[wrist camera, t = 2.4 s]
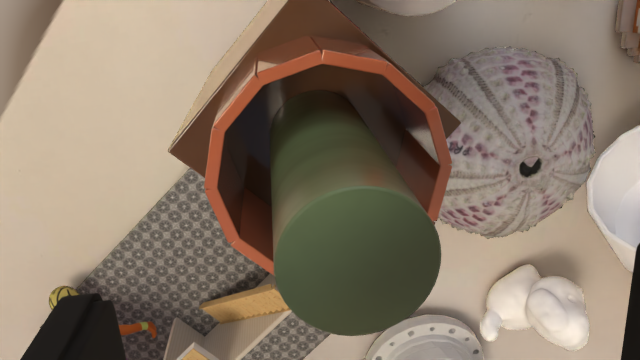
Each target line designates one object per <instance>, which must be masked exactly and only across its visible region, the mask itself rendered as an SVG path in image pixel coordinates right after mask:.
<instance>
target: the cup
mask: <svg viewBox="0 0 640 360" xmlns="http://www.w3.org/2000/svg"><path fill="white" fill-rule="evenodd" d="M586 189H587V211H588V213H589V214H590V216H591V217H592V219H593V220H594V222H595V223H596V225H597V226H598V228H599V229H600V231H601V233H602V234H603V236H604V237H605V239H606V240H607V242H608V243H609V245H610V246H611V248H612V249H613V251H614V252H615V254H616V255H617V257H618V258H619V260H620V261H621V262H622V264H623V265H624V267H625V268H626V269H627V270H629V271H631V272H632V273H633V269H634V262H635V255H636V249H637V246H638V245H639V243H640V125H638V126H636V127H635V128H633V129H631V130H629V131H627V132H625V133H623V134H622V135H621V136H620V137H619V138H618V139H616V140H615V141H614V142H613V143H612V144H611V145H610V146H609V147H608V148H607V149H606V150H605V151H604V152H603V153H602V154H601V155H600V156H599V157H598V159H597V161H596V163H595V165H594V168H593V170H592V172H591V174H590V177H589V179H588V181H587V183H586Z"/></svg>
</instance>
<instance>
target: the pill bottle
mask: <svg viewBox="0 0 640 360" xmlns="http://www.w3.org/2000/svg"><path fill="white" fill-rule="evenodd" d="M355 1H357V2H358V3H360V4H363V5H366V6H369V7H372V8H376V9H379V10H383V11H386V12H389V13H393V14H396V15H404V16H421V15H427V14H431V13H434V12H437V11H440V10H442V9H444V8H446V7H447V6H449V5H451V4H453V3H454V2H455V1H456V0H355Z"/></svg>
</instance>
